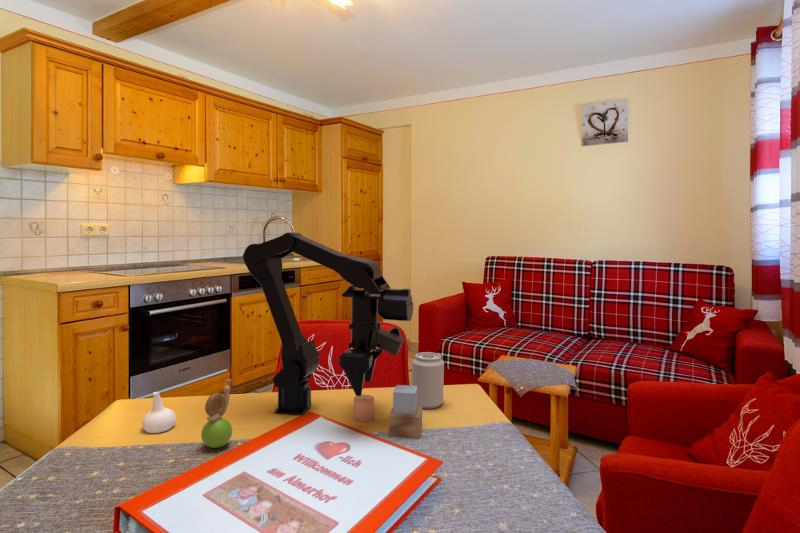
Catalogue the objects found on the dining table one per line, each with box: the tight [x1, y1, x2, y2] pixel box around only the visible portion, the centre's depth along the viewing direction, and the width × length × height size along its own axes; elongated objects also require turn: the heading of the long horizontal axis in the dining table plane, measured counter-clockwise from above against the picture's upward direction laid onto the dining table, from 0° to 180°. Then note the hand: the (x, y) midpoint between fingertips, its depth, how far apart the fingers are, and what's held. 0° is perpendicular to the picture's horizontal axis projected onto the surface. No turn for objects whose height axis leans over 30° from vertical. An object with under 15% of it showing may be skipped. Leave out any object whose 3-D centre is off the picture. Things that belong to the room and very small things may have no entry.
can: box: [411, 351, 445, 410], centre depth 111 cm, size 8×8×12 cm
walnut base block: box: [388, 406, 423, 440], centre depth 96 cm, size 6×6×4 cm
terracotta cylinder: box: [353, 394, 375, 423], centre depth 103 cm, size 4×4×4 cm
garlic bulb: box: [141, 391, 177, 434], centre depth 96 cm, size 6×6×8 cm
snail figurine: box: [200, 378, 233, 449], centre depth 88 cm, size 5×6×12 cm
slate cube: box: [392, 384, 418, 415], centre depth 96 cm, size 4×4×4 cm
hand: (363, 388), depth 102 cm, fingers open, 9 cm apart
